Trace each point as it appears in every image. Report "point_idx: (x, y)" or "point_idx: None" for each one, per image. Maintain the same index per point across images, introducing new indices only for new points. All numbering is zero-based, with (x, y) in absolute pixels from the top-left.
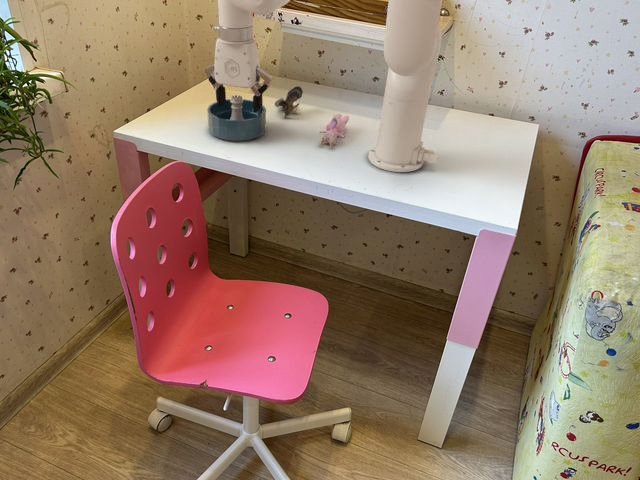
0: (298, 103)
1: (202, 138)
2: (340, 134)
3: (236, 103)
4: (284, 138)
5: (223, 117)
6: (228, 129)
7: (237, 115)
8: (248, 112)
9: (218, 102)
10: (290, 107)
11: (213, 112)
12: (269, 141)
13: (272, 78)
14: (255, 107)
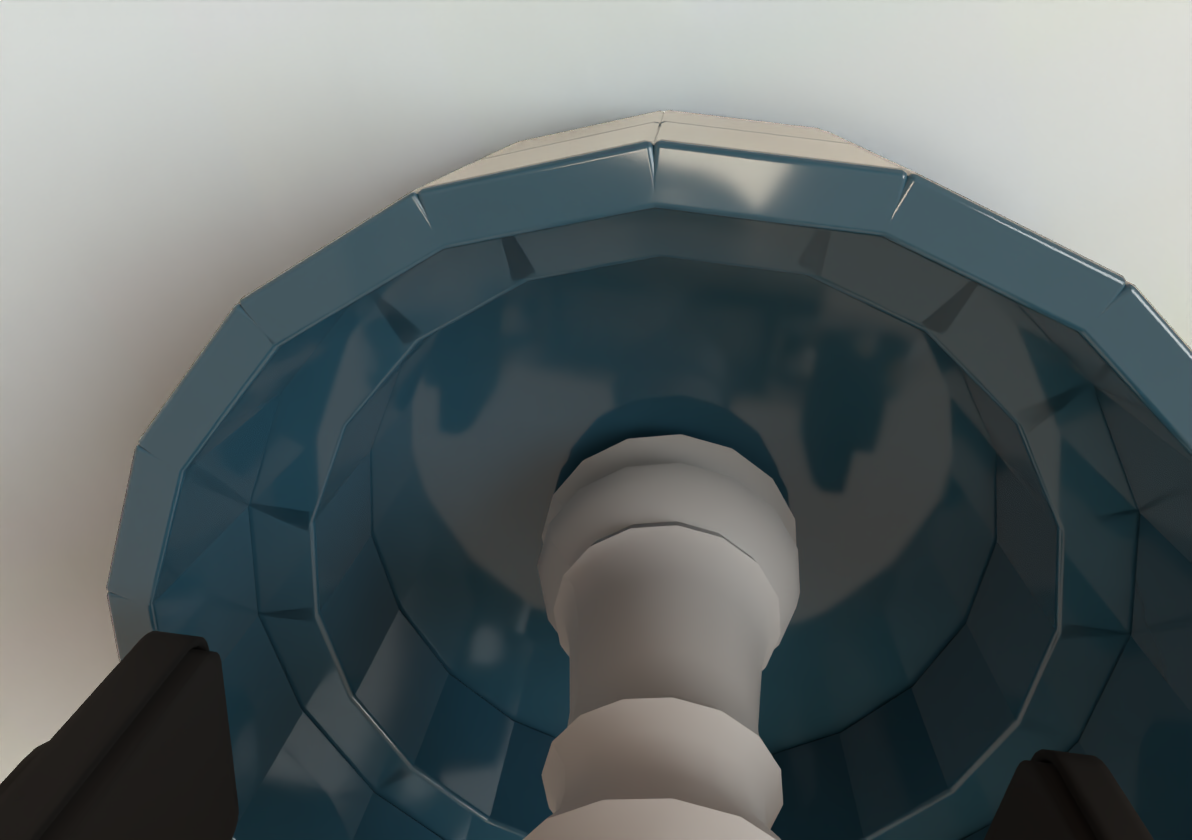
0: None
1: (1125, 102)
2: None
3: (605, 799)
4: (56, 486)
5: (932, 719)
6: (639, 127)
7: (622, 618)
8: None
9: (1113, 823)
10: None
11: (1121, 708)
12: (157, 351)
13: None
14: (84, 708)
